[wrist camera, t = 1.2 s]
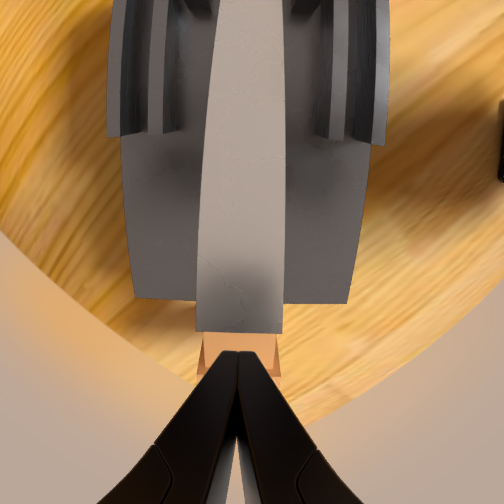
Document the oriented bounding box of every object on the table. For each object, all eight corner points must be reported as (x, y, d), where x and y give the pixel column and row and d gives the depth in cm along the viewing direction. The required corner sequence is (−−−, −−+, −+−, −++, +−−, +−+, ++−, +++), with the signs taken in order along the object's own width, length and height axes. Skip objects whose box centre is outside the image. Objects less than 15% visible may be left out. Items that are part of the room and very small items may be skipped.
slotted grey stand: (352, 0, 14) (394, -40, 8) (331, 271, 21) (358, 330, 15) (152, -7, 14) (113, -49, 8) (152, 266, 21) (121, 323, 15)
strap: (221, -11, 11) (220, -26, 10) (282, -9, 11) (284, -24, 10) (195, 326, 10) (190, 331, 9) (283, 328, 10) (287, 334, 9)
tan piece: (276, 257, 21) (288, 322, 15) (271, 323, 23) (278, 396, 17) (207, 255, 21) (191, 320, 14) (209, 321, 23) (198, 393, 17)
